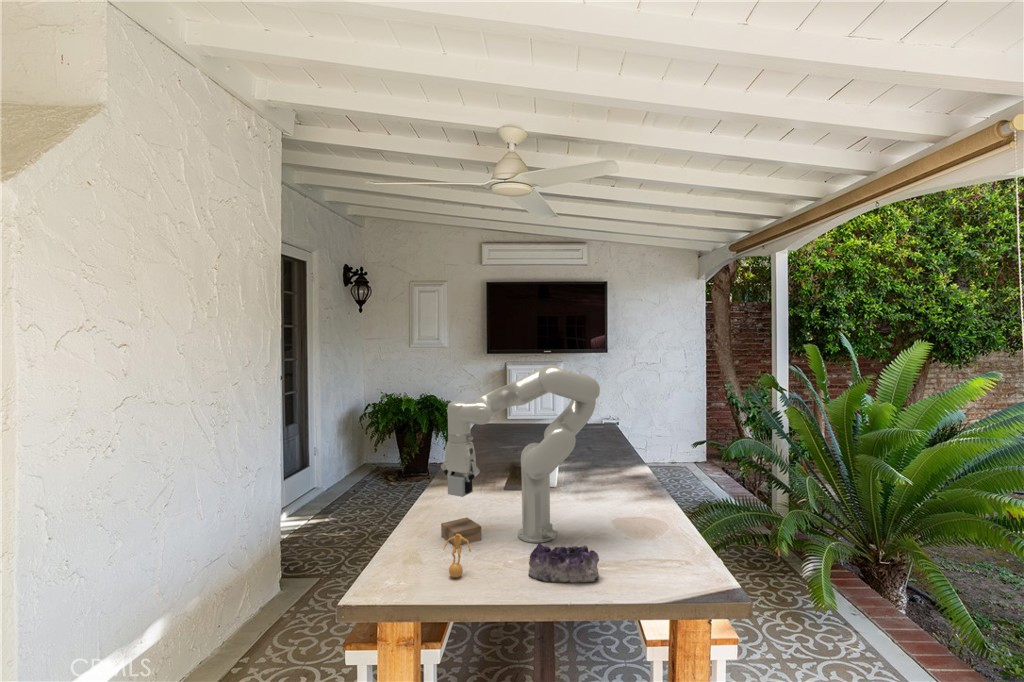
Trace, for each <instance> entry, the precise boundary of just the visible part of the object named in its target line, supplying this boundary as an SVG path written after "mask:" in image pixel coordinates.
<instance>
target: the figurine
mask: <svg viewBox="0 0 1024 682" xmlns="http://www.w3.org/2000/svg"><path fill="white" fill-rule="evenodd" d="M453 539H454V542H455V546H453V545H452V552H451V555H452V557H453V562H452V563H451V564H450V566H449V568H448V573H449V576H450V577H452V578H454V579H455V578H456V579H457V578H459V577H461V575H462V574H463V570H464V569H463V566H462V564H460V560H461V554H462V549H463V547H462V545H461V546H460V544H461V541H462V540H464V541H466V542H467V544H466V545H467V547H468V550H467V551H468V552H469V553H471V552H472V550H471V546H470V543H469V541H468V540H467V539H465V538H464V537H462V536H461V534H456V536H453V537H452V538H449V539H448V540H447V541H445V542H446V543H444V545H443V551H444V550H445V549H446V546H447V545H448V544H449V540H453ZM456 552H457V562H456V555H455V554H456Z"/></svg>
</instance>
